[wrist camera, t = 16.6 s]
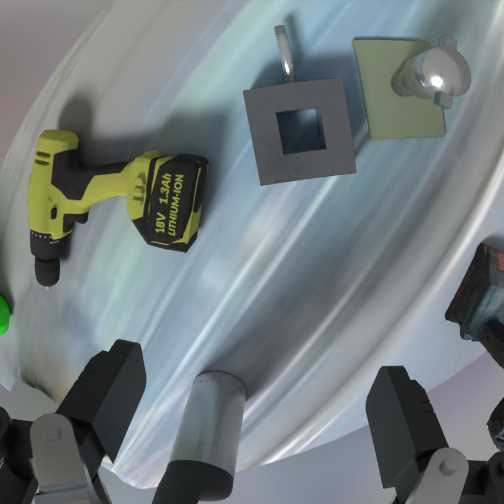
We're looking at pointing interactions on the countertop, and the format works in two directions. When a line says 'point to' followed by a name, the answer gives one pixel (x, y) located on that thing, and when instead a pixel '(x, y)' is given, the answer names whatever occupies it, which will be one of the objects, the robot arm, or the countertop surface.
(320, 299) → the countertop surface
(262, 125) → the block
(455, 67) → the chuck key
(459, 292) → the power drill
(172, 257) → the countertop surface
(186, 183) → the cordless drill
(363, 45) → the mat
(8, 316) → the plastic bottle
